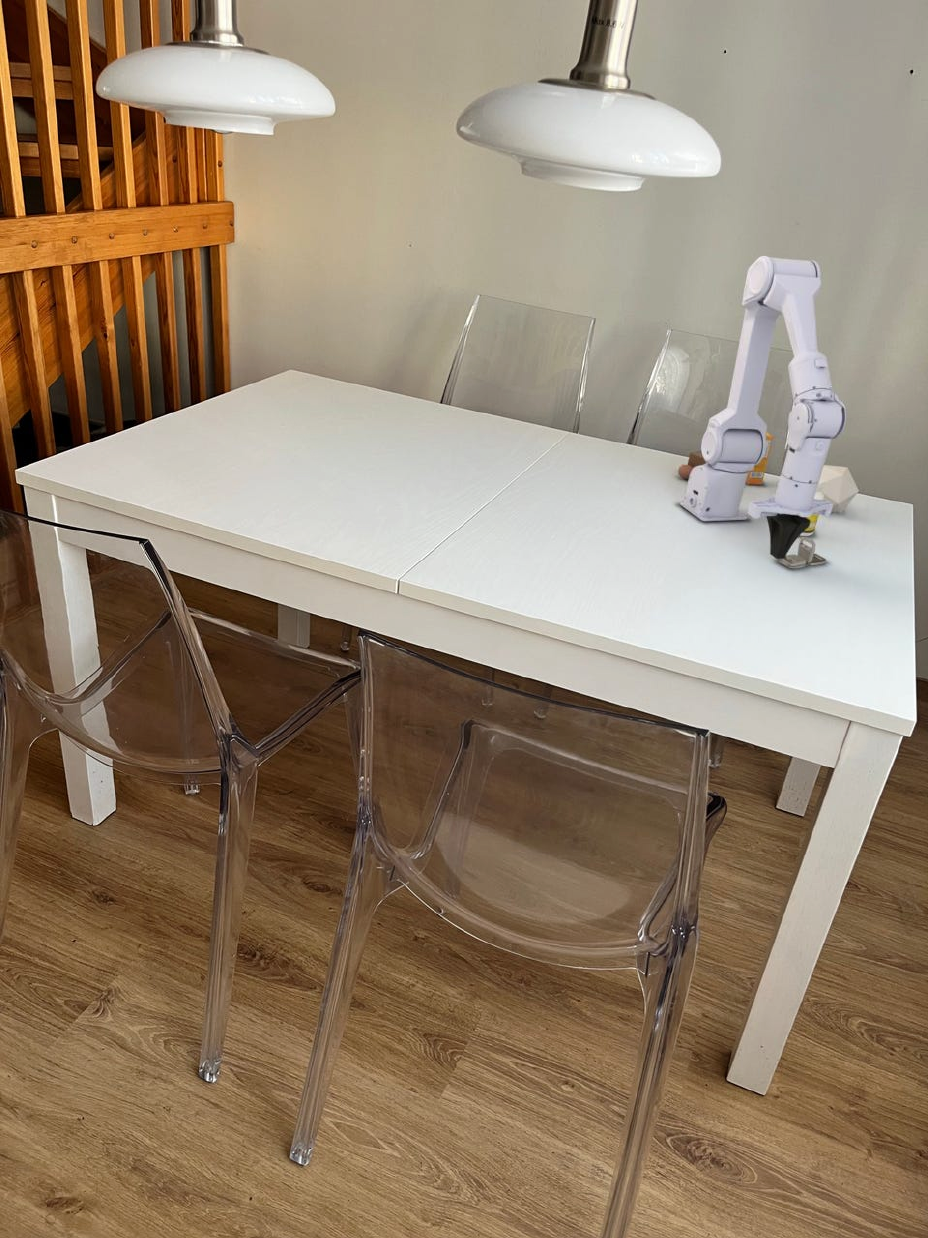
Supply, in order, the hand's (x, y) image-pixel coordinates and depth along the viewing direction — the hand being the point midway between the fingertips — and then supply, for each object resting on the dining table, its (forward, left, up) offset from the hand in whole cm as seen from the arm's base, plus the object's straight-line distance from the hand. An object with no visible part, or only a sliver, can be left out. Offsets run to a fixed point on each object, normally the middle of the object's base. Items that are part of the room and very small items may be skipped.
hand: (776, 556), depth 156 cm
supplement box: (+19, +35, -2) cm, 40 cm away
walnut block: (+9, +37, -1) cm, 38 cm away
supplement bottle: (+13, +12, -2) cm, 18 cm away
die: (+26, +21, -2) cm, 34 cm away
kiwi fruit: (+6, +38, -1) cm, 39 cm away
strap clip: (+5, 0, -2) cm, 6 cm away
